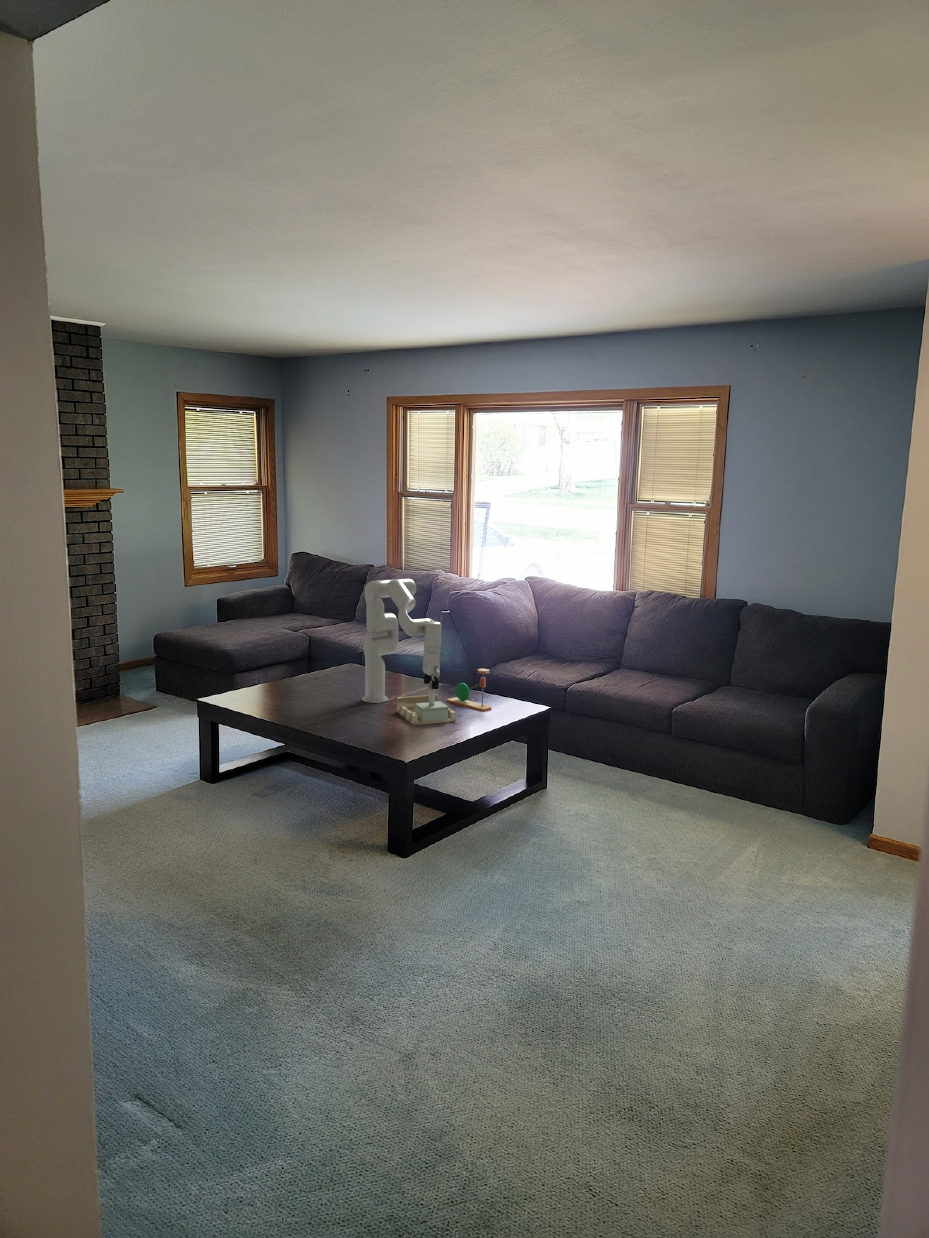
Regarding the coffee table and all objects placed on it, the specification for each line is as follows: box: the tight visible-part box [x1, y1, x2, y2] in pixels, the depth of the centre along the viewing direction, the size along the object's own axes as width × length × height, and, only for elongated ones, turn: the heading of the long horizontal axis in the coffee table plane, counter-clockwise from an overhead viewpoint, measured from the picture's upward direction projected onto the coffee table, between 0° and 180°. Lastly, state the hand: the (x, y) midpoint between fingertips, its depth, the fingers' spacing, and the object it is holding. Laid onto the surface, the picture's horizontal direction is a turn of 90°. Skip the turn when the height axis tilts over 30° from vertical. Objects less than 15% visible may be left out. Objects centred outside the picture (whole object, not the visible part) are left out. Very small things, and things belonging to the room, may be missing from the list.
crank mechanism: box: [446, 668, 492, 712], centre depth 423 cm, size 25×7×19 cm, turn 46°
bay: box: [396, 693, 457, 726], centre depth 403 cm, size 23×20×7 cm
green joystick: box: [415, 681, 449, 722], centre depth 396 cm, size 10×12×17 cm
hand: (431, 686), depth 395 cm, fingers open, 9 cm apart
